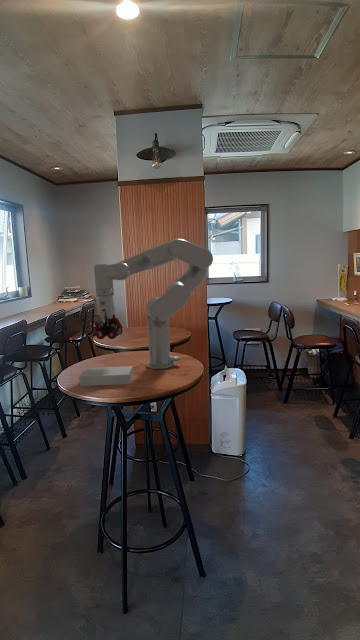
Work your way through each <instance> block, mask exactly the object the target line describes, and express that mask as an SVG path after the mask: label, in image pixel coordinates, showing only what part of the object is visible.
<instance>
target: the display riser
mask: <svg viewBox="0 0 360 640" xmlns="http://www.w3.org/2000/svg"><path fill="white" fill-rule="evenodd" d="M133 377H134V368H133V365H131V366H129V365H128V366H109V367H108V366H107V367H106V366H105V367H86V368H85V369H84V370H83V371H82V373H80V375H79V376H78V380H79V387H94V386H96V387H97V386H115V385H116V386H118V385H119V386H120V385H130V384H131V381H132V379H133Z"/></svg>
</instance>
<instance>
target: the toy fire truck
mask: <svg viewBox="0 0 360 640" xmlns="http://www.w3.org/2000/svg"><path fill="white" fill-rule="evenodd" d="M106 321H107V320H106ZM111 321H112V322H111ZM93 322H94V329H95V336H96V338H97V340H103V339H104V338H106V337H107V338H108V339H110V340H114V339H116V337H118V336H120V335H122V334H123V325H122V323H121V322H120V320H119V318H117V317H116V314H115V315H114V314H113V318H112V319H110V318H109V325H110V327H111V328H110V334H109V335H103V333H102V319H100V314H96V315H95V314H94V316H93ZM110 322H111V323H110Z"/></svg>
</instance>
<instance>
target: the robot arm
mask: <svg viewBox="0 0 360 640" xmlns="http://www.w3.org/2000/svg"><path fill="white" fill-rule="evenodd" d="M176 260H180V261H181V262H182V261H183V262H184V263H187V264H189V266H188V268H187V270H186V271H185V272H183V274H182V275H181V276H179V277H178V278H177V279H175V280H174V281H173V282H171V283H170V284H169V285H168V286H167V287H166V289H165V293H163V294H161V296H160V297H159V296H155V297H154V296H153V297H152V298H150V299H148V301H147V303H146V306H145V309H146V310H145V312H146V319H147V320H146V321H147V322H146V323H147V335H148V336H147V337H148V351H149V361H148V362H147V363H146V367H147V368H148V369H153V370H163V369H165V370H166V369H169V368H172V367H173V366H174V365H175V362H181V357H180V356H173V355H172V353H171V344H170V342H171V341H170V325H169V319H170V318H171V317H172V316H174V315H175V314H176V313H177V312H178V311H179V310H181V309H182V308H183V307H185V306H186V304H188V303H189V301H190V298H191V293H192V292H193V291H194V290H195V289H197V288H198V287H199V286H200V285H201V284H202V283H203V281H204V280H205V277H206V275H207V269H208V268H209V267H210V266H211V265H212V264H213V263H214V262H213V261H214V256H213V253H212V252H211V251H210V250H209V249H207V248H205V247H202V246H201V245H197V244H195V243H193V242H190V241H188V240H185V239H182V238H175V239H172V240H169V241H166V242H164V243H161V244H159V245H155V246H154V247H152V248H149V249H146V250H144V251H142V252H140V253H138V254H136V255H133V256H131V257H129V258H126V259H123V260H121V261H118V262H117V263H113V264H112V263H111V264H110V263H98V264H95V265H94V266H93V273H94V283H95V284H94V286H95V295H96V298H98V309H99V310H98V313H99V315H100V319H102V333H103V335H109V334H110V328H111V327H110V325H109V318H110V319H112V318H113V314H114V315H115V316H116V310H115V303H114V296H115V293H114V292H115V290H114V280H115V281H125V280H127V279H128V278H129V277H130V276H132V275H134V274H138V273H141V272H143V271H148V270H154V269H156V268H158V267H161V266H163V265H166V264H168V263H171V262H173V261H176ZM106 320H107V321H106ZM111 322H112V321H111ZM111 322H110V323H111Z"/></svg>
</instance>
